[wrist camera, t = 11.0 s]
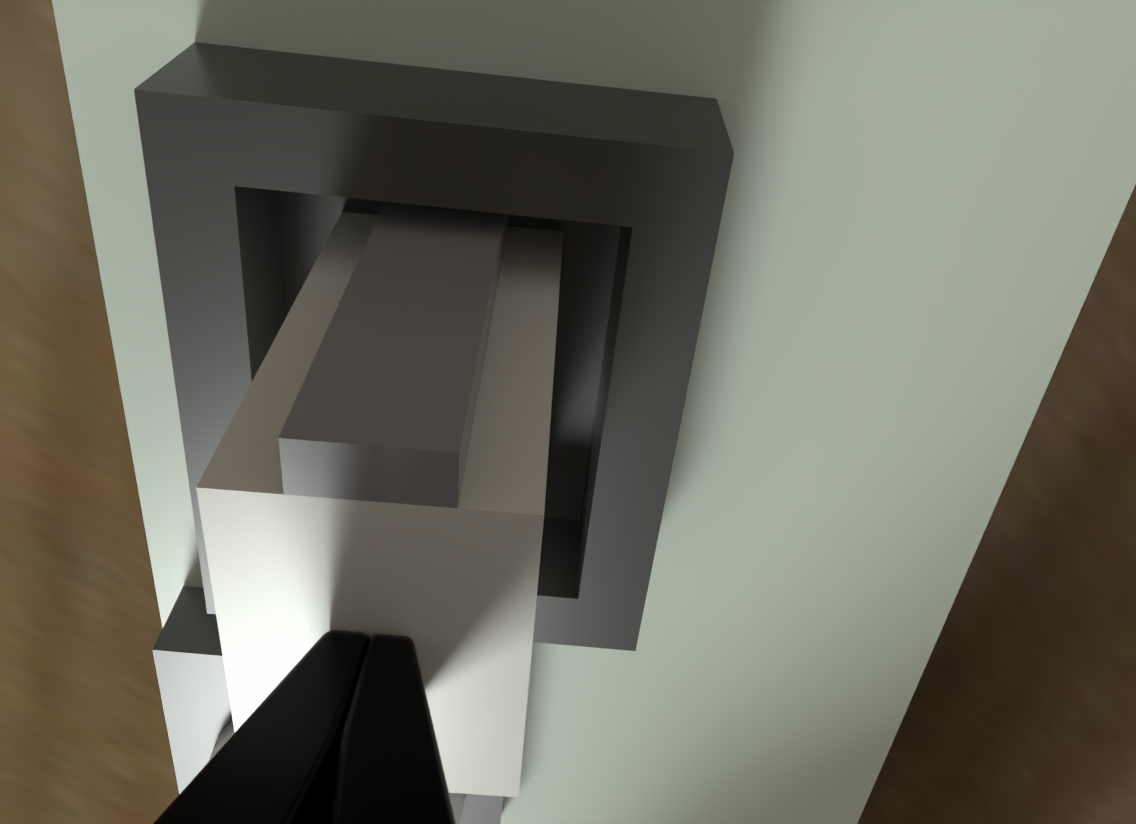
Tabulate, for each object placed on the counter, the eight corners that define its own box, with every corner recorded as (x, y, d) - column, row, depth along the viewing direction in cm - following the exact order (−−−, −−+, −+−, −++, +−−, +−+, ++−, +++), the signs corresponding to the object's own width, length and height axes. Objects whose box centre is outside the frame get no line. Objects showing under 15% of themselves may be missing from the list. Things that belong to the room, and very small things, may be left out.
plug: (543, 465, 16) (518, 797, 11) (353, 450, 16) (242, 777, 11) (567, 189, 13) (550, 459, 8) (339, 169, 13) (187, 430, 8)
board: (833, 817, 23) (861, 950, 20) (208, 766, 22) (160, 896, 20) (1183, -36, 13) (1323, 21, 10) (62, -164, 12) (-72, -137, 10)
